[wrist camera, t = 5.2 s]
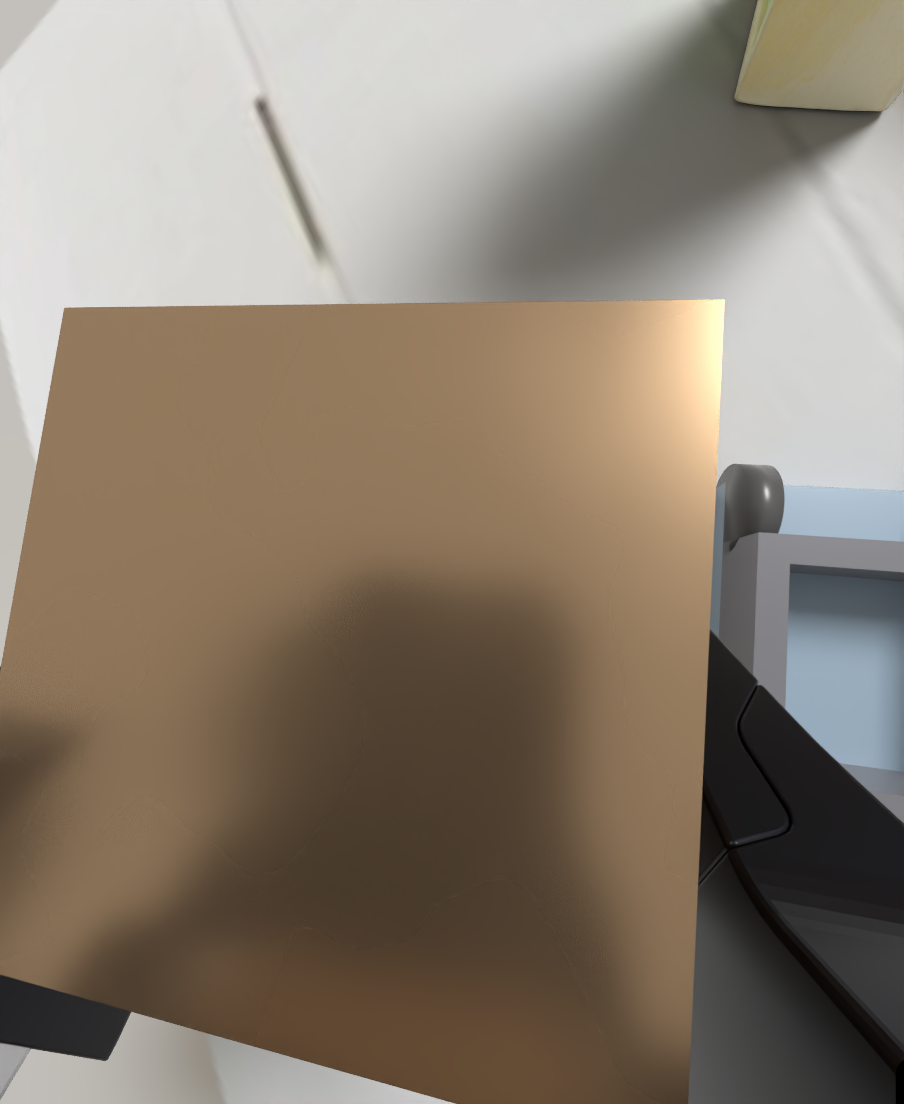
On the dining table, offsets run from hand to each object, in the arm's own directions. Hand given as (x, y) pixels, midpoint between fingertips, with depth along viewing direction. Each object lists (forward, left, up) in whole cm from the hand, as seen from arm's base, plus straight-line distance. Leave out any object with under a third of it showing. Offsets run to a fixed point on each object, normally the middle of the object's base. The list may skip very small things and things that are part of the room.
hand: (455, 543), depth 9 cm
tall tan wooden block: (-1, 0, -7) cm, 7 cm away
